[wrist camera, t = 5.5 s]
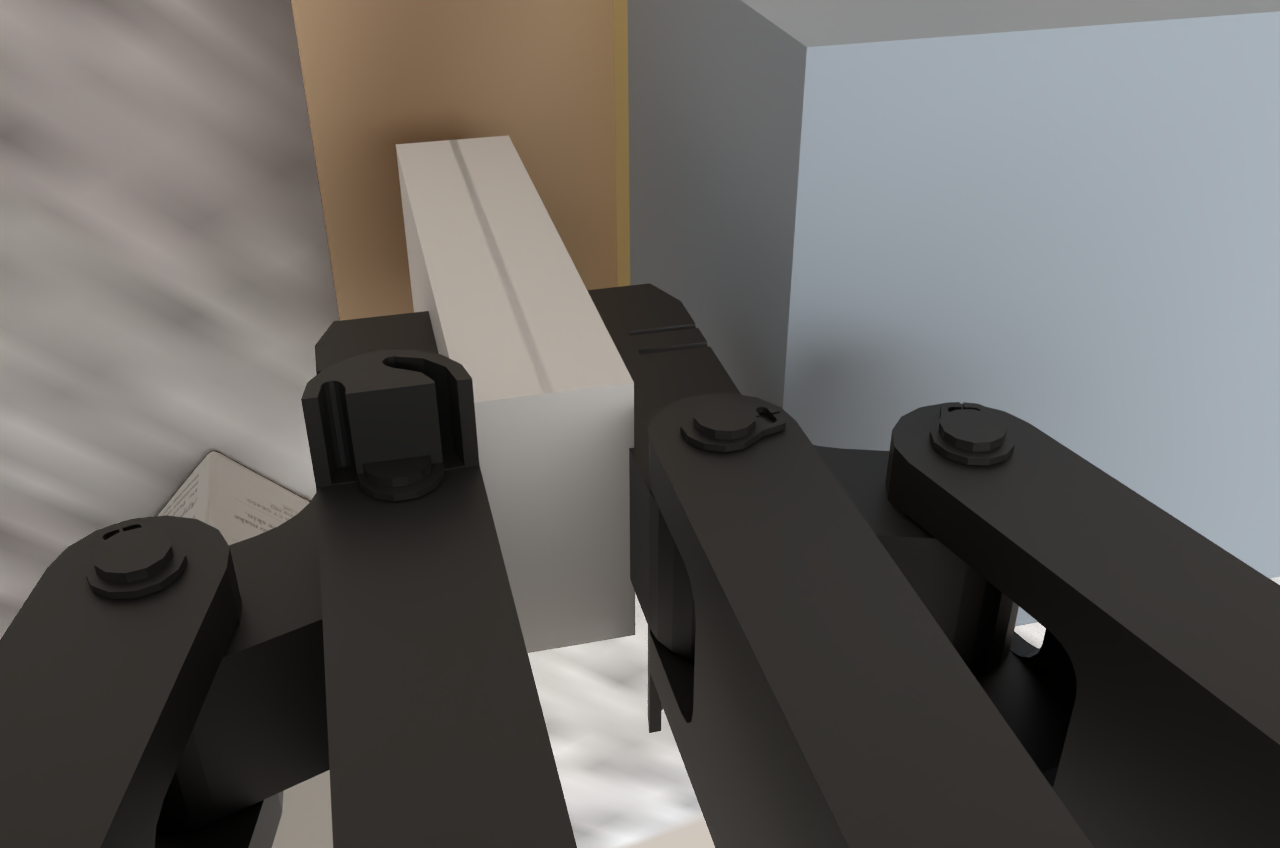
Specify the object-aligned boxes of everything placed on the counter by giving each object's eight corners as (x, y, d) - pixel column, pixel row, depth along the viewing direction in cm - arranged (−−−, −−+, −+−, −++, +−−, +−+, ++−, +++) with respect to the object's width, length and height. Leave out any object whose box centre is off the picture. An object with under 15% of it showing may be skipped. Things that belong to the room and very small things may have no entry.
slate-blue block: (619, 377, 20) (765, 673, 14) (611, -92, 16) (806, 46, 10) (1014, 325, 21) (1294, 574, 15) (1092, -115, 17) (1501, -6, 12)
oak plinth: (351, 342, 28) (380, 586, 20) (242, -394, 20) (226, -429, 13) (986, 265, 31) (1209, 451, 24) (1090, -391, 24) (1459, -417, 16)
